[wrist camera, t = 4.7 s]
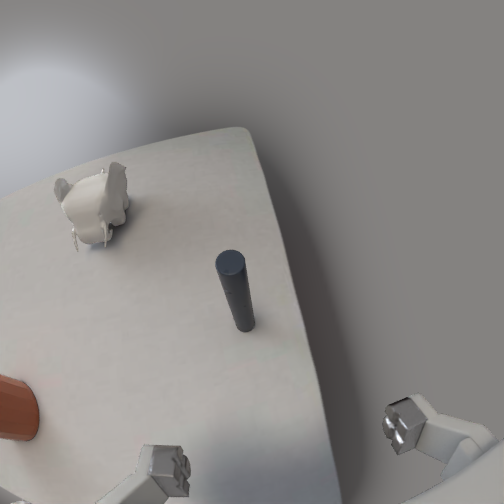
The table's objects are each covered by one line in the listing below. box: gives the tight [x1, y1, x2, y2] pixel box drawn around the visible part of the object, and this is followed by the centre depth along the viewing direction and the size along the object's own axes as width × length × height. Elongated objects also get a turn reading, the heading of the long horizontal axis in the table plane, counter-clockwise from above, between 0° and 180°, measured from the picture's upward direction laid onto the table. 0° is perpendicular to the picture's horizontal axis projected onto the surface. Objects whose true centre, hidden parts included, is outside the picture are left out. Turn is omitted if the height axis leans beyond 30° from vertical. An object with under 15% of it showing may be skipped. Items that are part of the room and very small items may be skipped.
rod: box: [215, 250, 255, 332], centre depth 22 cm, size 2×2×12 cm
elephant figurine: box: [54, 162, 129, 252], centre depth 31 cm, size 10×12×9 cm
